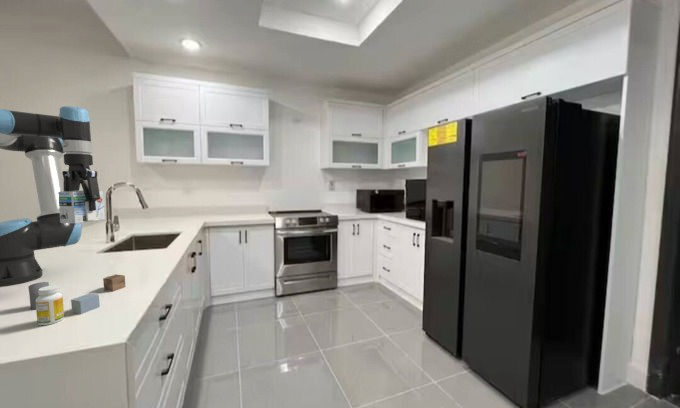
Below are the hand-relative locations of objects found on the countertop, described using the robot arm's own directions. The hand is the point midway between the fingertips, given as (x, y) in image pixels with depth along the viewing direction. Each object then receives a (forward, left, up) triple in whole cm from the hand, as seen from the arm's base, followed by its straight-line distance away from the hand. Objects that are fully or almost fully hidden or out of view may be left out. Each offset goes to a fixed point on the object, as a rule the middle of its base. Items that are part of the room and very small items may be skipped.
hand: (83, 219), depth 105 cm
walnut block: (+9, +2, -25) cm, 27 cm away
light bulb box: (0, 0, -1) cm, 1 cm away
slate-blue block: (+18, -13, -25) cm, 33 cm away
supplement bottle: (+17, -20, -25) cm, 37 cm away
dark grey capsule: (+2, -15, -25) cm, 29 cm away
